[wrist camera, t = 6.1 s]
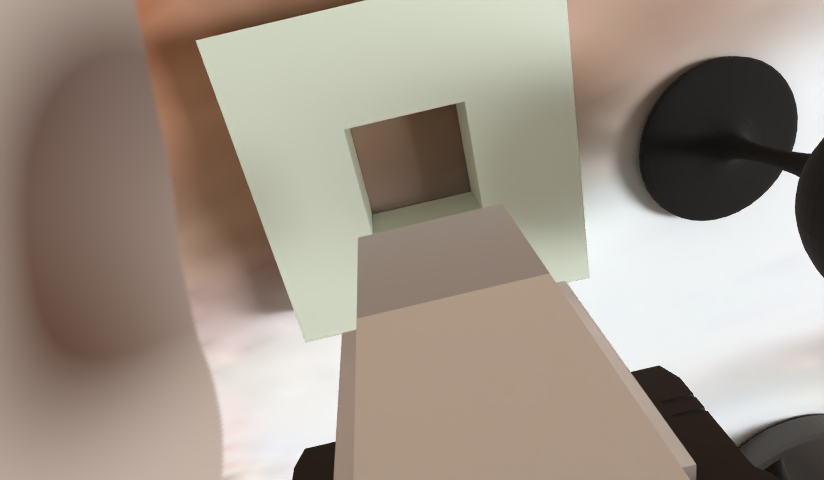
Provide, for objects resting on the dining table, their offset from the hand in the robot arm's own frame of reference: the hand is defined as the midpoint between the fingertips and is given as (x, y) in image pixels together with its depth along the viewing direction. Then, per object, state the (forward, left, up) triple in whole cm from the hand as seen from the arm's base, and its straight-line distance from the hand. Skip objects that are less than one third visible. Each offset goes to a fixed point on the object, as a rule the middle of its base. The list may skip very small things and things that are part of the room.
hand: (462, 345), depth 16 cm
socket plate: (+1, 0, -19) cm, 19 cm away
